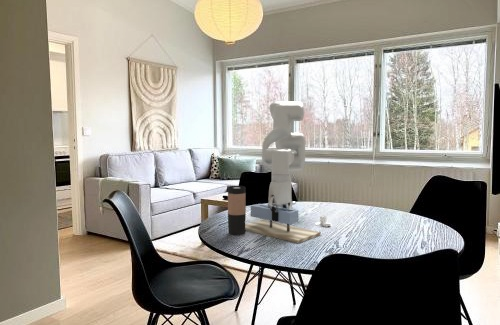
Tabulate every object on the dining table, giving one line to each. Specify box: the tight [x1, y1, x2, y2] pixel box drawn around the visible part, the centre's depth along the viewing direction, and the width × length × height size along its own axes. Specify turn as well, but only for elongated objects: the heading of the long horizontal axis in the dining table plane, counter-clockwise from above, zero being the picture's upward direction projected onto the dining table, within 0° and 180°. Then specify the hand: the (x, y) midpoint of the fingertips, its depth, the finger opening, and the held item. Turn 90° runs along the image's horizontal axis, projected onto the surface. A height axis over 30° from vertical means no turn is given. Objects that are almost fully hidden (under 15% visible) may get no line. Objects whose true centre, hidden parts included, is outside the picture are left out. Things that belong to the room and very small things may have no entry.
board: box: [245, 219, 322, 244], centre depth 167 cm, size 16×32×7 cm, turn 47°
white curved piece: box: [314, 215, 333, 227], centre depth 180 cm, size 9×8×4 cm
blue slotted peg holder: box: [250, 203, 299, 225], centre depth 168 cm, size 6×22×5 cm, turn 47°
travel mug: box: [227, 185, 247, 236], centre depth 164 cm, size 8×8×20 cm
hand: (279, 219), depth 166 cm, fingers closed on blue slotted peg holder, 6 cm apart
